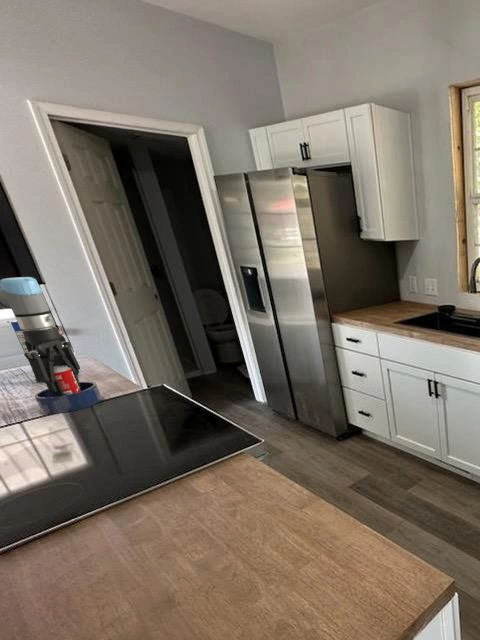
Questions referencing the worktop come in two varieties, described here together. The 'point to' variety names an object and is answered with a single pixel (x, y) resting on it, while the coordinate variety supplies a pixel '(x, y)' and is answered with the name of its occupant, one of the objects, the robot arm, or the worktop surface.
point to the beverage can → (66, 379)
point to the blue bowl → (69, 399)
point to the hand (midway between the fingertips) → (69, 396)
